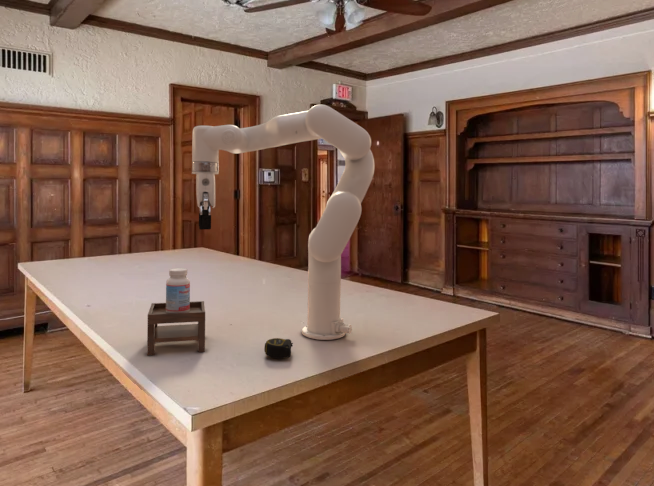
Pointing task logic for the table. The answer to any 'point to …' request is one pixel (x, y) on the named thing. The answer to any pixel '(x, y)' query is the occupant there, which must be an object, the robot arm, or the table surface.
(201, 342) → the rack
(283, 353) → the tape measure
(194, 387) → the table surface
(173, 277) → the pill bottle
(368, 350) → the table surface
